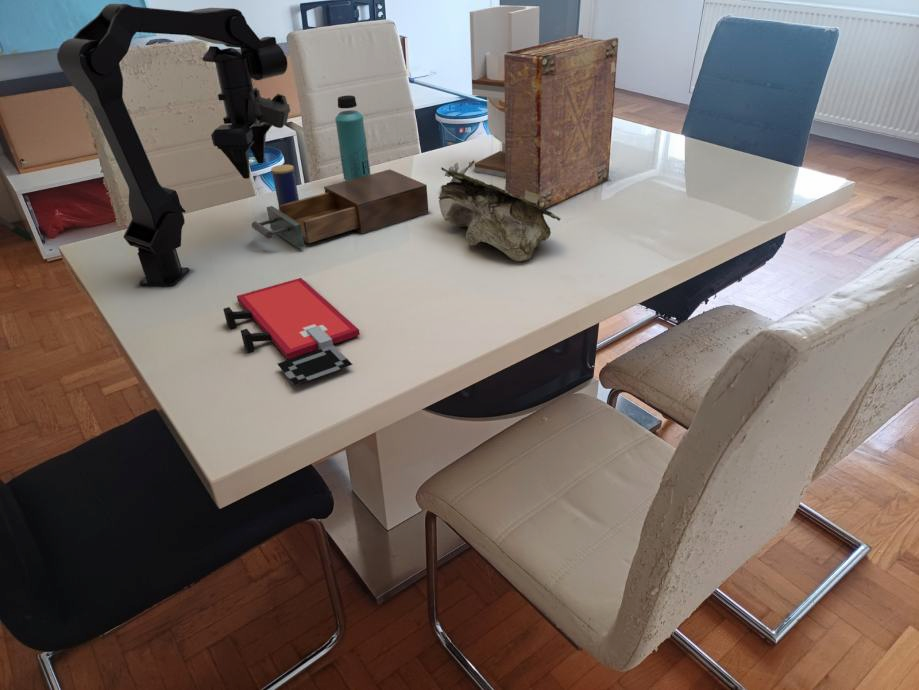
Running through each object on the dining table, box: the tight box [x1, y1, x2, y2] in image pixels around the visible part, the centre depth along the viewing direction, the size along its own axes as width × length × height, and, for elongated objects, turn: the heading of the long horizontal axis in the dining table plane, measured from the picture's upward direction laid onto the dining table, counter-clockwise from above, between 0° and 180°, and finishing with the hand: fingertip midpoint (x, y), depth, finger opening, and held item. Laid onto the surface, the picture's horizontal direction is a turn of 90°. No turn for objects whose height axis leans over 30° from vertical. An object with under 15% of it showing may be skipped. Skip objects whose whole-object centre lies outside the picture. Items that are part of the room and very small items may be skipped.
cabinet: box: [323, 169, 430, 235], centre depth 141 cm, size 16×14×6 cm
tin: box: [270, 164, 300, 206], centre depth 142 cm, size 5×5×10 cm
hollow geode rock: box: [438, 166, 562, 262], centre depth 125 cm, size 28×13×15 cm
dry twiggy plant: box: [444, 159, 476, 182], centre depth 150 cm, size 10×6×9 cm
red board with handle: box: [223, 277, 361, 386], centre depth 102 cm, size 30×3×15 cm
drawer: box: [251, 192, 360, 249], centre depth 133 cm, size 20×13×5 cm, turn 127°
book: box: [504, 34, 619, 210], centre depth 141 cm, size 25×9×30 cm, turn 136°
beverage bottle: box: [334, 94, 372, 181], centre depth 154 cm, size 6×7×20 cm
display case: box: [469, 4, 541, 178], centre depth 155 cm, size 11×11×35 cm
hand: (254, 170), depth 130 cm, fingers open, 9 cm apart
